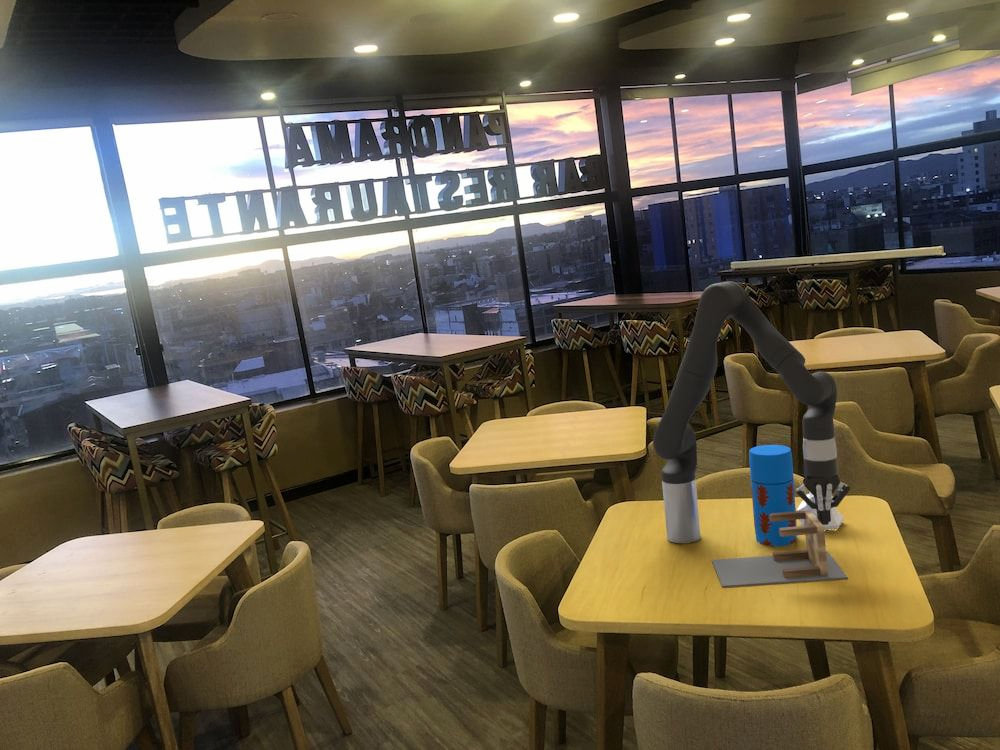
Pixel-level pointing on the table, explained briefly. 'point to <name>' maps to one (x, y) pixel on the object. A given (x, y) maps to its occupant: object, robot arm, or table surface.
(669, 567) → the table surface
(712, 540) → the table surface
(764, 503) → the thermos
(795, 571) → the stool
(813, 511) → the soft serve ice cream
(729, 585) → the mat
